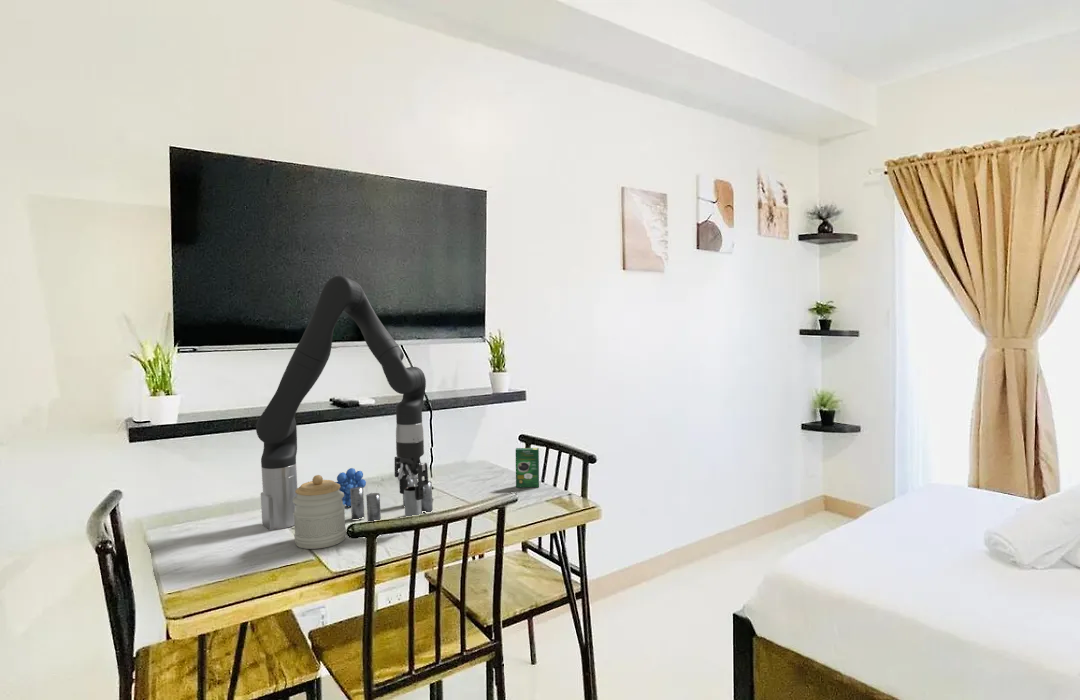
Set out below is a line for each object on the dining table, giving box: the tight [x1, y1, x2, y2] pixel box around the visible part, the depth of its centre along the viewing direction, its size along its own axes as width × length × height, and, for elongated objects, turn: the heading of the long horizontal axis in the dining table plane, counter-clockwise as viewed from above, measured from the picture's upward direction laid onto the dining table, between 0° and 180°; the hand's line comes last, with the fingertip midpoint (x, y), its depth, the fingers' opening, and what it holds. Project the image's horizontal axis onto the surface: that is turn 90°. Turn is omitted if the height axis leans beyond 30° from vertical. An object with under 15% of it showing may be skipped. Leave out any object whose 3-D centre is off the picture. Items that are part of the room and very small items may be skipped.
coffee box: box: [515, 447, 540, 489], centre depth 216 cm, size 8×3×13 cm, turn 87°
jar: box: [292, 474, 347, 550], centre depth 170 cm, size 13×13×18 cm
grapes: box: [334, 467, 367, 507], centre depth 201 cm, size 12×7×12 cm, turn 131°
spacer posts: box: [350, 475, 434, 522], centre depth 190 cm, size 21×14×9 cm, turn 132°
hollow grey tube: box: [404, 485, 423, 517], centre depth 181 cm, size 4×4×10 cm
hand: (411, 496), depth 181 cm, fingers open, 8 cm apart
